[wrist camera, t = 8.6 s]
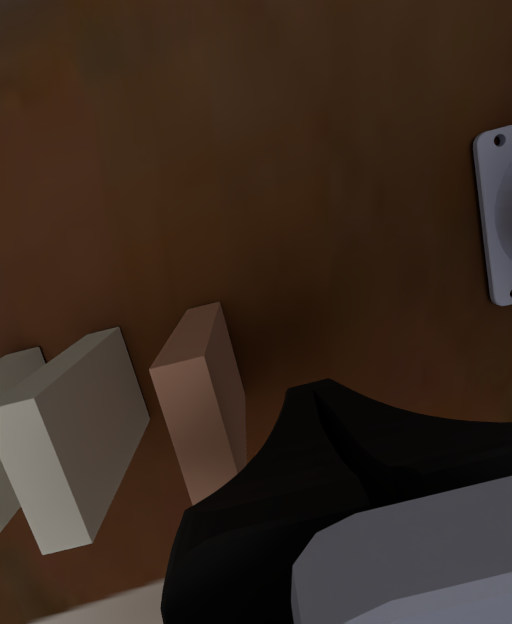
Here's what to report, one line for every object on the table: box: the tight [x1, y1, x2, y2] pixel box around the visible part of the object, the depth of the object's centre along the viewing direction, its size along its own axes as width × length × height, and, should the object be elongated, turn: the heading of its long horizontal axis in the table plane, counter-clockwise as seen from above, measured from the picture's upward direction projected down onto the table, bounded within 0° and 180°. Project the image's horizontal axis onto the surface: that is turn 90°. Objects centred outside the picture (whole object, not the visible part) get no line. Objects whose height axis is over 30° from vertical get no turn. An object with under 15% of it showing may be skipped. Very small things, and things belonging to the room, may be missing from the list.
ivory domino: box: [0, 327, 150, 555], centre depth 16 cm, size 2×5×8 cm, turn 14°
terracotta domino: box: [149, 301, 246, 505], centre depth 16 cm, size 2×5×8 cm, turn 14°
